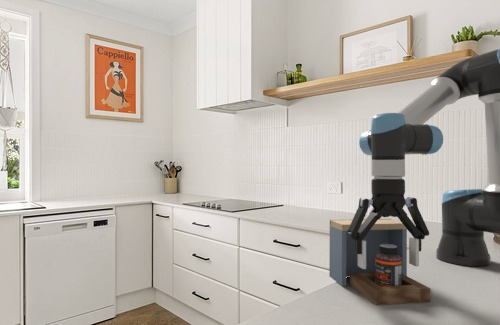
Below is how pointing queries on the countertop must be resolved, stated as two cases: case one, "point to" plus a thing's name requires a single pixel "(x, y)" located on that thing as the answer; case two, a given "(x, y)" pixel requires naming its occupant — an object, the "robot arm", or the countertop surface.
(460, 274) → the countertop surface
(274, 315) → the countertop surface
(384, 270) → the supplement bottle
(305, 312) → the countertop surface
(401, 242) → the blue open cabinet
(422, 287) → the socket
